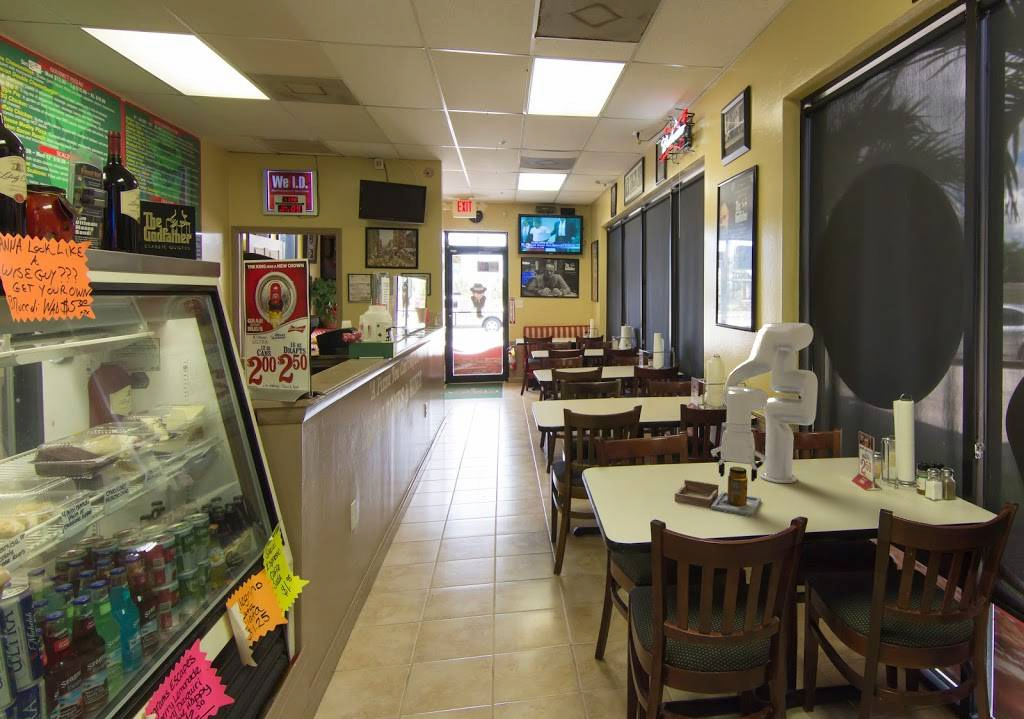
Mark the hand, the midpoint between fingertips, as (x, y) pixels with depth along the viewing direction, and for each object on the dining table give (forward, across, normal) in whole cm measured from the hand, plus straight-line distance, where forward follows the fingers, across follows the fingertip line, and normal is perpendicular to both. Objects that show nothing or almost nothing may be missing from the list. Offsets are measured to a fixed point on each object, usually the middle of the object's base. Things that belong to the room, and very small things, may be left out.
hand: (737, 477), depth 182 cm
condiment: (+9, 0, -1) cm, 9 cm away
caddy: (+9, -13, 0) cm, 16 cm away
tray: (+9, 0, 0) cm, 9 cm away
